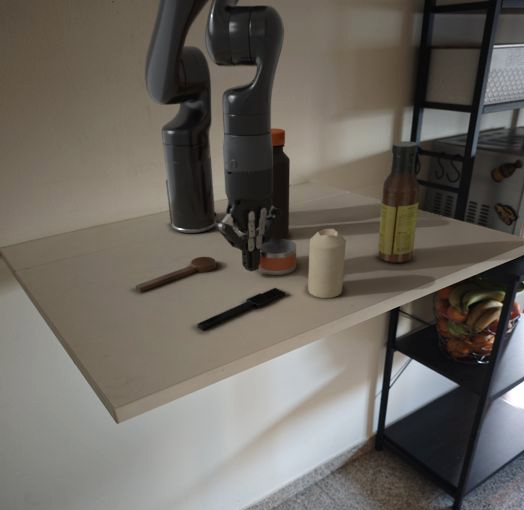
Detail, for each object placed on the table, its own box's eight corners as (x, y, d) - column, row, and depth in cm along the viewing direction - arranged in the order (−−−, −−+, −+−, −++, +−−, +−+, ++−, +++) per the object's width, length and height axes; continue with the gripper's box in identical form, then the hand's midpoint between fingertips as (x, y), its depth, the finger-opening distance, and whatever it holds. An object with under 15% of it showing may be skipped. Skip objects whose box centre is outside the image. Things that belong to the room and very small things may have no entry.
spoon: (145, 295, 81) (144, 289, 80) (131, 286, 84) (130, 281, 83) (220, 267, 90) (220, 261, 89) (205, 260, 92) (205, 254, 92)
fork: (205, 332, 71) (205, 328, 71) (194, 326, 73) (194, 321, 72) (285, 295, 80) (286, 291, 80) (274, 290, 82) (274, 286, 81)
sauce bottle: (414, 254, 93) (432, 140, 82) (407, 266, 88) (426, 148, 77) (379, 248, 95) (393, 138, 84) (371, 261, 91) (384, 145, 80)
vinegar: (269, 244, 98) (268, 135, 87) (249, 234, 103) (245, 130, 92) (295, 236, 102) (297, 130, 91) (274, 227, 106) (274, 126, 95)
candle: (340, 299, 78) (345, 239, 73) (305, 296, 80) (307, 236, 74) (343, 284, 83) (347, 226, 77) (310, 281, 84) (312, 224, 78)
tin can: (247, 267, 89) (246, 246, 87) (275, 255, 94) (275, 235, 91) (276, 279, 85) (276, 257, 83) (304, 266, 89) (305, 245, 87)
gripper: (264, 154, 82) (265, 253, 91) (198, 166, 75) (207, 273, 84) (296, 160, 77) (294, 265, 87) (230, 175, 70) (235, 287, 79)
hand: (251, 269), depth 85 cm, fingers closed
